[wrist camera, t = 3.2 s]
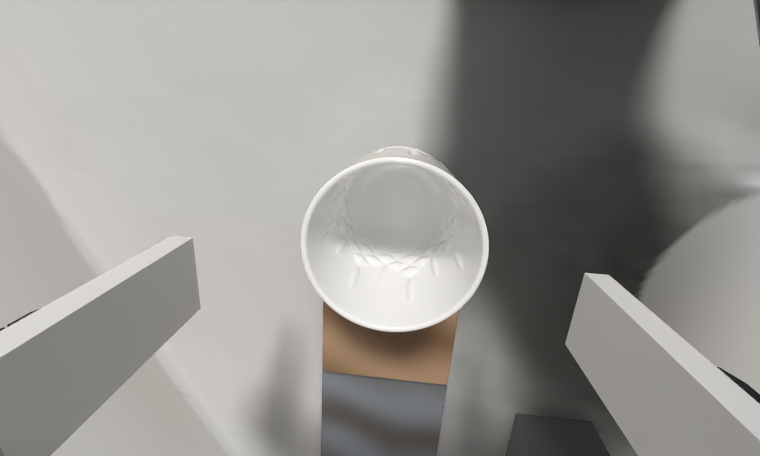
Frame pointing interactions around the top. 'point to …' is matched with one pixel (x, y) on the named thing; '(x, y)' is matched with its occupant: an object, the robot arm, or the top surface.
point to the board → (383, 387)
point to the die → (553, 437)
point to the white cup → (395, 241)
